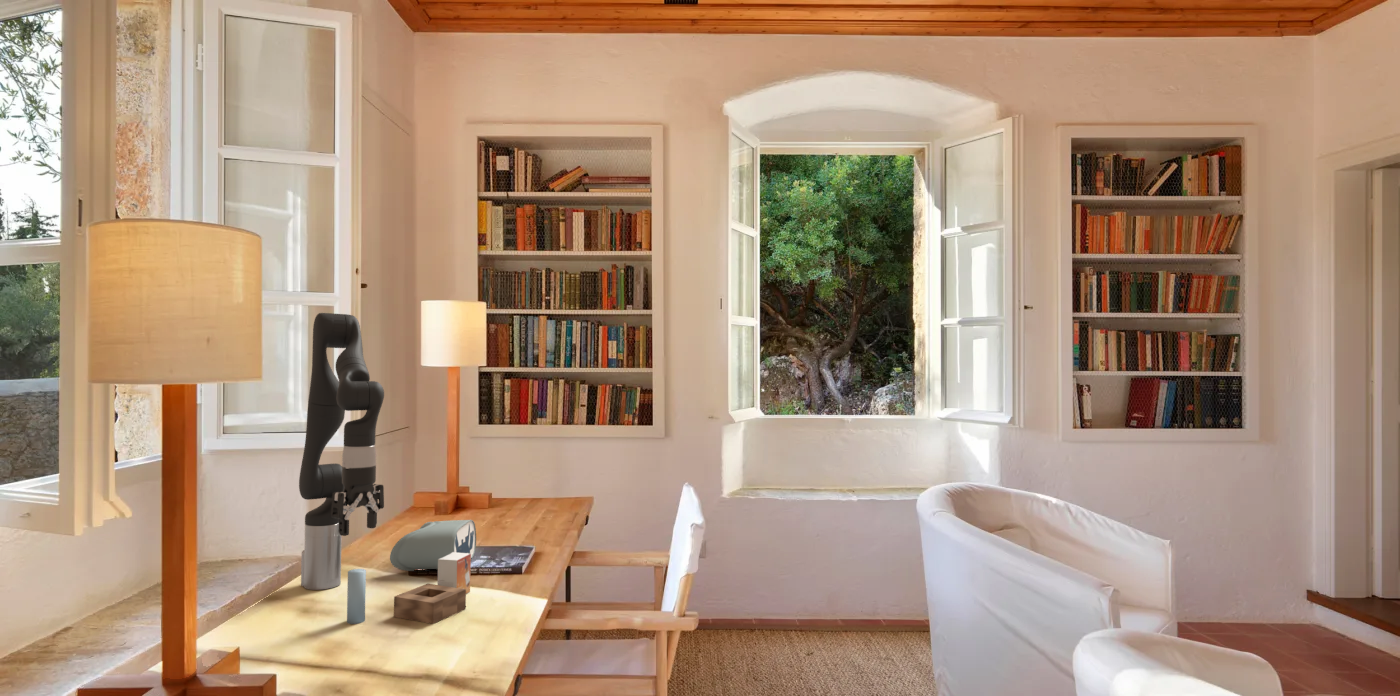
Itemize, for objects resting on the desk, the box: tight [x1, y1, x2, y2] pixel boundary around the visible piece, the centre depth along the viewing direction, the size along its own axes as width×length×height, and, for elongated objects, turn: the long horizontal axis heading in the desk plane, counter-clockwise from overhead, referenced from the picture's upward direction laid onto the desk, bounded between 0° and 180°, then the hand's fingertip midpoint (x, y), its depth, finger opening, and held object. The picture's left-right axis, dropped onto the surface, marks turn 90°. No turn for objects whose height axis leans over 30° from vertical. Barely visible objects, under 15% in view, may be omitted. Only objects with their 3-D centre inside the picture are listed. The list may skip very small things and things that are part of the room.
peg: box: [346, 568, 367, 625], centre depth 192 cm, size 4×4×12 cm
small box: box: [437, 552, 472, 595], centre depth 213 cm, size 8×6×10 cm
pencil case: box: [389, 519, 477, 572], centre depth 242 cm, size 22×19×13 cm
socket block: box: [393, 583, 467, 625], centre depth 199 cm, size 12×12×5 cm
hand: (357, 531), depth 192 cm, fingers open, 8 cm apart
